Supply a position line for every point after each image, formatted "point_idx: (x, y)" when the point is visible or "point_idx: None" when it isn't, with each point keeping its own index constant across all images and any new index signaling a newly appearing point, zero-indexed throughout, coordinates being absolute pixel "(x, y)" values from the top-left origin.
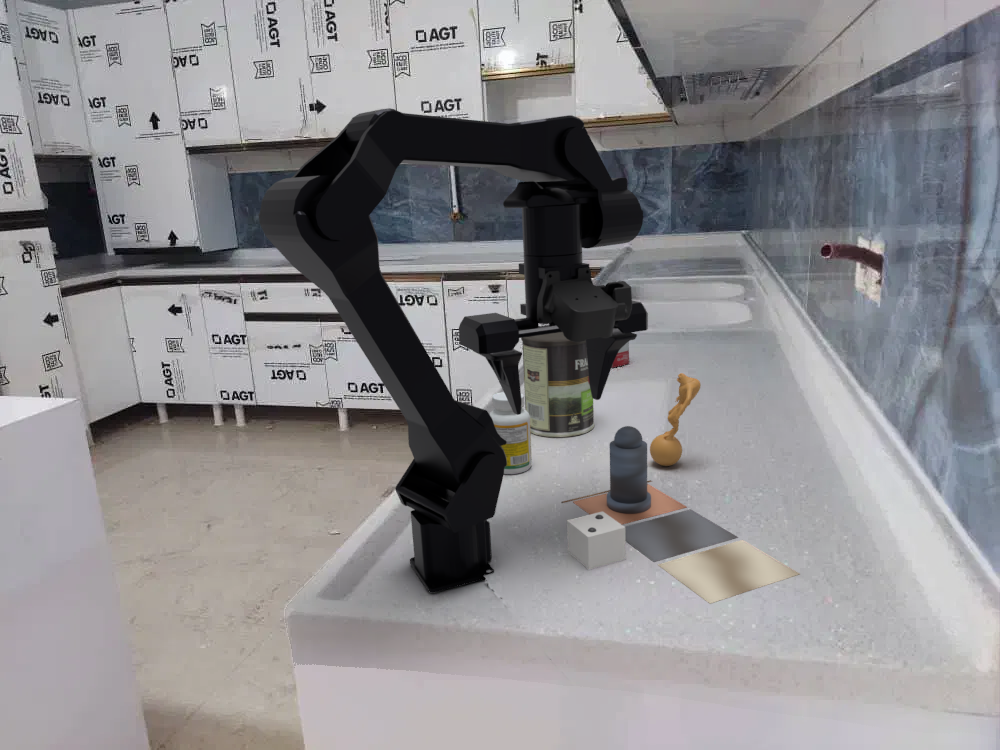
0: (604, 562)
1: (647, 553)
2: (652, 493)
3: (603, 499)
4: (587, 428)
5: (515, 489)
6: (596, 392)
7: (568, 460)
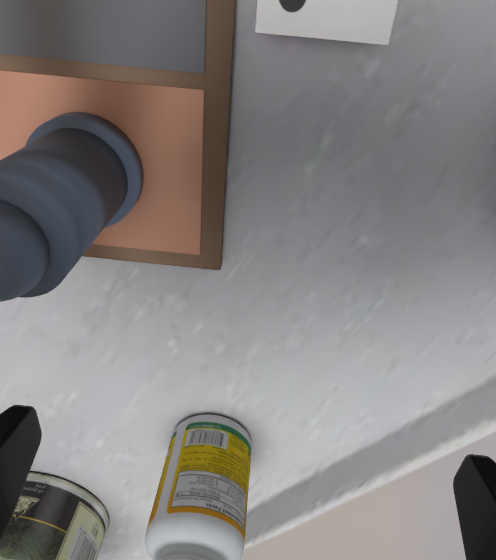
0: None
1: None
2: None
3: (131, 225)
4: None
5: (258, 369)
6: (14, 440)
7: (99, 409)
